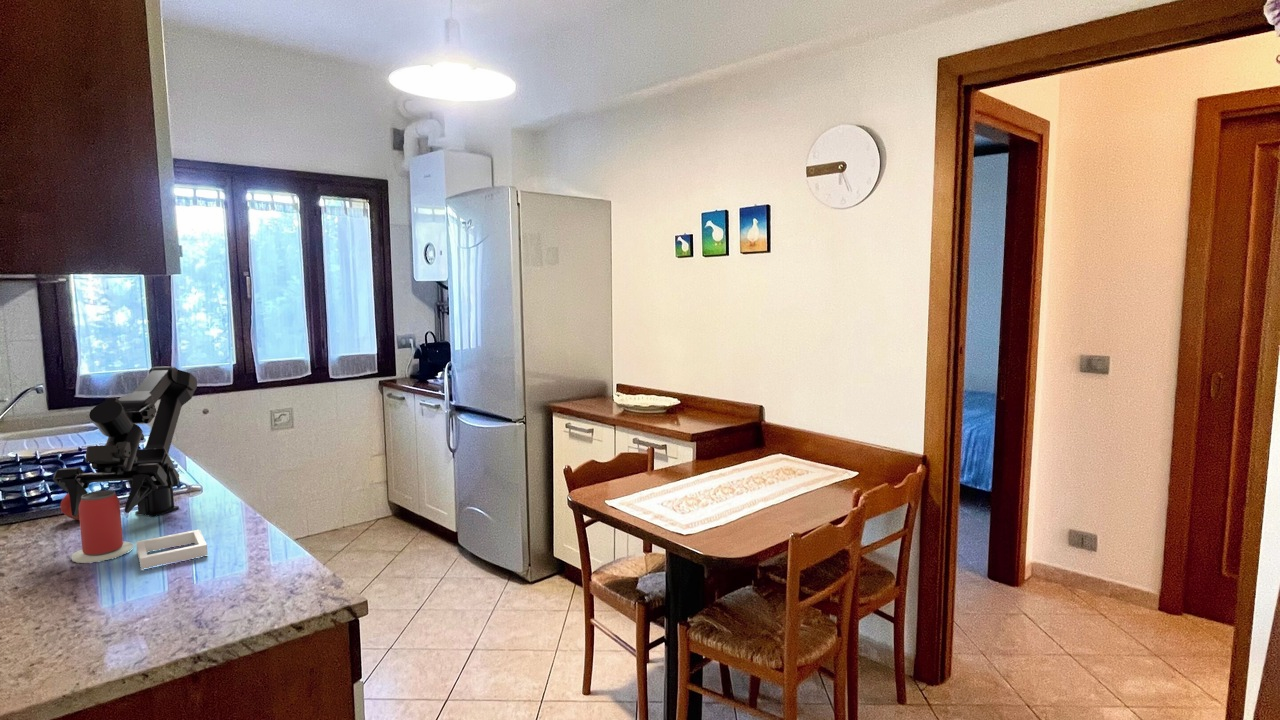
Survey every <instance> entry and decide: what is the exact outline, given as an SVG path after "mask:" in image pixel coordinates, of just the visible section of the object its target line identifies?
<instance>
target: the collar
mask: <svg viewBox="0 0 1280 720" xmlns="http://www.w3.org/2000/svg"><path fill="white" fill-rule="evenodd" d="M135 542H136V552H137V553H138V554H137V557H138V558H139V559H138V562H140V563H139V566H140V567H141V568H140V570H141V569H144V568H149V567H153V566H157V565H161V564H166V563H171V562H176V561H182V560H188V559H192V558H196V557H201V556H205V555H209V554H208V544H207V542H206V540H205V538H204V536H203V533H202V532H201V529H195V530H188V531H183V532H178V533H173V534H169V535H164V536H160V537H159V536H158V537H153V538H152V537H151V538H148V539H143V540H138V541H135ZM191 543H195V544H194V545H192V544H191ZM186 544H189V546H187V545H186ZM181 545H184V546H185V547H182V546H181ZM174 546H179V548H176V549H174V548H175V547H174ZM169 547H174V548H173V549H170V550H165V551H161V552H160V551H159V552H155V553H152V554H148V553H147V552H148V551H153V550H159V549H163V548H169ZM180 547H181V548H180Z"/></svg>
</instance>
